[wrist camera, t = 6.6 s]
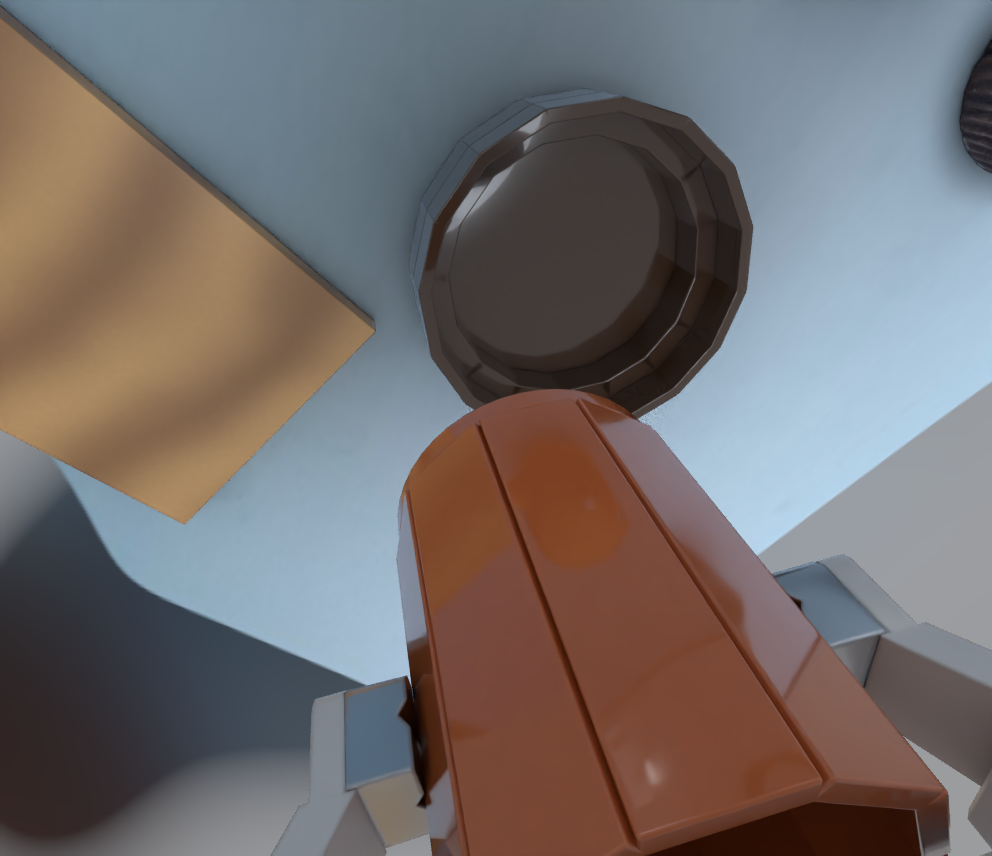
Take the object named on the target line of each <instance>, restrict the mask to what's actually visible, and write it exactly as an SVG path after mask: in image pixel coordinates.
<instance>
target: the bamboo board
mask: <svg viewBox="0 0 992 856" xmlns="http://www.w3.org/2000/svg"><path fill="white" fill-rule="evenodd" d="M375 331H376V330H375V323H374V321H373V320H372V319H371V318H370V317H369V316H368V315H366V314H365V313H364V312H363V311H362V310H360V309H359V308H358V307H357V306H356V305H355V304H353V303H352V302H351V301H350V300H349V299H347V298H346V297H345V296H344V295H343V294H341V293H340V292H339V291H338V290H337V289H336V288H334V287H333V286H332V285H331V284H330V283H328V282H327V281H326V280H325V279H324V278H323V277H321V276H320V275H319V274H318V273H317V272H315V271H314V270H313V269H312V268H311V267H309V266H308V265H307V264H306V263H305V262H304V261H302V260H301V259H300V258H299V257H298V256H296V255H295V254H294V253H293V252H292V251H291V250H289V249H288V248H287V247H286V246H285V245H283V244H282V243H281V242H280V241H279V240H277V239H276V238H275V237H274V236H273V235H272V234H270V233H269V232H268V231H267V230H266V229H264V228H263V227H262V226H261V225H260V224H259V223H257V222H256V221H255V220H254V219H253V218H251V217H250V216H249V215H248V214H247V213H245V212H244V211H243V210H242V209H241V208H240V207H238V206H237V205H236V204H235V203H234V202H232V201H231V200H230V199H229V198H228V197H226V196H225V195H224V194H223V193H222V192H221V191H219V190H218V189H217V188H216V187H215V186H213V185H212V184H211V183H210V182H209V181H208V180H206V179H205V178H204V177H203V176H202V175H200V174H199V173H198V172H197V171H196V170H194V169H193V168H192V167H191V166H190V165H189V164H187V163H186V162H185V161H184V160H183V159H181V158H180V157H179V156H178V155H177V154H176V153H174V152H173V151H172V150H171V149H170V148H168V147H167V146H166V145H165V144H164V143H162V142H161V141H160V140H159V139H158V138H157V137H155V136H154V135H153V134H152V133H151V132H149V131H148V130H147V129H146V128H145V127H144V126H142V125H141V124H140V123H139V122H138V121H136V120H135V119H134V118H133V117H132V116H130V115H129V114H128V113H127V112H126V111H125V110H123V109H122V108H121V107H120V106H119V105H117V104H116V103H115V102H114V101H113V100H111V99H110V98H109V97H108V96H107V95H106V94H104V93H103V92H102V91H101V90H100V89H98V88H97V87H96V86H95V85H94V84H93V83H91V82H90V81H89V80H88V79H87V78H85V77H84V76H83V75H82V74H81V73H79V72H78V71H77V70H76V69H75V68H74V67H72V66H71V65H70V64H69V63H68V62H66V61H65V60H64V59H63V58H62V57H61V56H59V55H58V54H57V53H56V52H55V51H53V50H52V49H51V48H50V47H49V46H47V45H46V44H45V43H44V42H43V41H42V40H40V39H39V38H38V37H37V36H36V35H34V34H33V33H32V32H31V31H30V30H29V29H27V28H26V27H25V26H24V25H23V24H21V23H20V22H19V21H18V20H17V19H15V18H14V17H13V16H12V15H11V14H10V13H8V12H7V11H6V10H5V9H4V8H2V7H1V6H0V430H2V431H4V432H6V433H8V434H10V435H12V436H14V437H16V438H18V439H20V440H21V441H23V442H25V443H27V444H29V445H31V446H33V447H35V448H37V449H39V450H41V451H43V452H45V453H47V454H49V455H51V456H52V457H54V458H56V459H58V460H60V461H62V462H64V463H66V464H68V465H70V466H72V467H74V468H76V469H78V470H80V471H82V472H83V473H85V474H87V475H89V476H91V477H93V478H95V479H97V480H99V481H101V482H103V483H105V484H107V485H109V486H111V487H113V488H115V489H116V490H118V491H120V492H122V493H124V494H126V495H128V496H130V497H132V498H134V499H136V500H138V501H140V502H142V503H144V504H146V505H147V506H149V507H151V508H153V509H155V510H157V511H159V512H161V513H163V514H165V515H167V516H169V517H171V518H173V519H175V520H177V521H178V522H180V523H182V524H186V523H187V522H188V521H189V520H190V519H191V518H192V517H193V516H194V515H195V514H196V513H197V512H198V511H199V510H200V509H201V508H202V507H203V506H204V505H205V504H206V503H207V501H208V500H209V499H210V498H211V497H212V496H213V495H214V494H215V493H216V492H217V491H218V490H219V489H220V488H221V487H222V486H223V485H224V484H225V483H226V482H227V481H228V480H229V479H230V478H231V477H232V476H233V475H234V474H235V473H236V472H237V471H238V470H239V469H240V468H241V467H242V466H243V465H244V464H245V463H246V462H247V461H248V460H249V459H250V458H251V457H252V456H253V455H254V454H255V453H256V452H257V451H258V450H259V449H260V448H261V447H262V446H263V445H264V444H265V443H266V442H267V441H268V440H269V439H270V438H271V437H272V436H273V435H274V434H275V433H276V432H277V431H278V430H279V429H280V428H281V427H282V426H283V425H284V424H285V423H286V422H287V421H288V420H289V419H290V418H291V417H292V416H293V415H294V414H295V413H296V412H297V410H298V409H299V408H300V407H301V406H302V405H303V404H304V403H305V402H306V401H307V400H308V399H309V398H310V397H311V396H312V395H313V394H314V393H315V392H316V391H317V390H318V389H319V388H320V387H321V386H322V385H323V384H324V383H325V382H326V381H327V380H328V379H329V378H330V377H331V376H332V375H333V374H334V373H335V372H336V371H337V370H338V369H339V368H340V367H341V366H342V365H343V364H344V363H345V362H346V361H347V360H348V359H349V358H350V357H351V356H352V355H353V354H354V353H355V352H356V351H357V350H358V349H359V348H360V347H361V346H362V345H363V344H364V343H365V342H366V341H367V340H368V339H369V338H370V337H371V336H372V335H373V334H374V333H375Z"/></svg>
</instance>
